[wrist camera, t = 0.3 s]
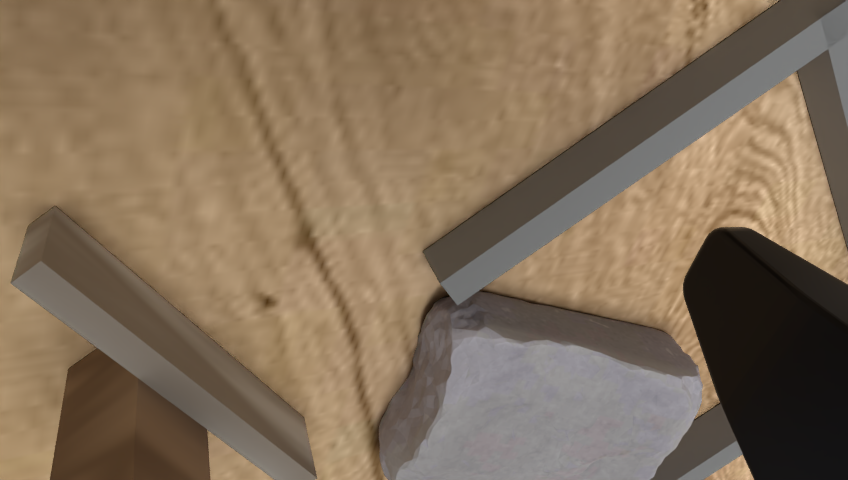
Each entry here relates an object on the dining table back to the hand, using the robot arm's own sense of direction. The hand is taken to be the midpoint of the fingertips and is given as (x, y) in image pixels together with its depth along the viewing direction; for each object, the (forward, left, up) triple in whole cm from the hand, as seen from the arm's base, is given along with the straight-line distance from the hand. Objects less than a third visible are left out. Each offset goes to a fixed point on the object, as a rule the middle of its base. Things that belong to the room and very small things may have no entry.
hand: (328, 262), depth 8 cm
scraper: (-11, -8, -15) cm, 20 cm away
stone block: (-1, -20, -15) cm, 25 cm away
